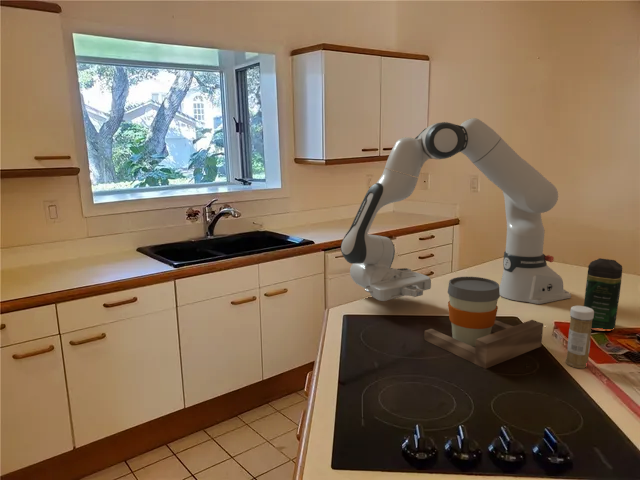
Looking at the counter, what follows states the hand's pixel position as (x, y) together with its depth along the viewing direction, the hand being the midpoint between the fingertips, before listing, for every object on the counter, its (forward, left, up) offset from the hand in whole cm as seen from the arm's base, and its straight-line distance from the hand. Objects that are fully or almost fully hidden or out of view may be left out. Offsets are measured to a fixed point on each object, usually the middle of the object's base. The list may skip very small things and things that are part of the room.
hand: (419, 293), depth 136 cm
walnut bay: (-8, +21, -7) cm, 23 cm away
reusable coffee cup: (-6, +18, -7) cm, 20 cm away
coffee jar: (-44, +19, -7) cm, 48 cm away
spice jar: (-22, +37, -7) cm, 43 cm away
